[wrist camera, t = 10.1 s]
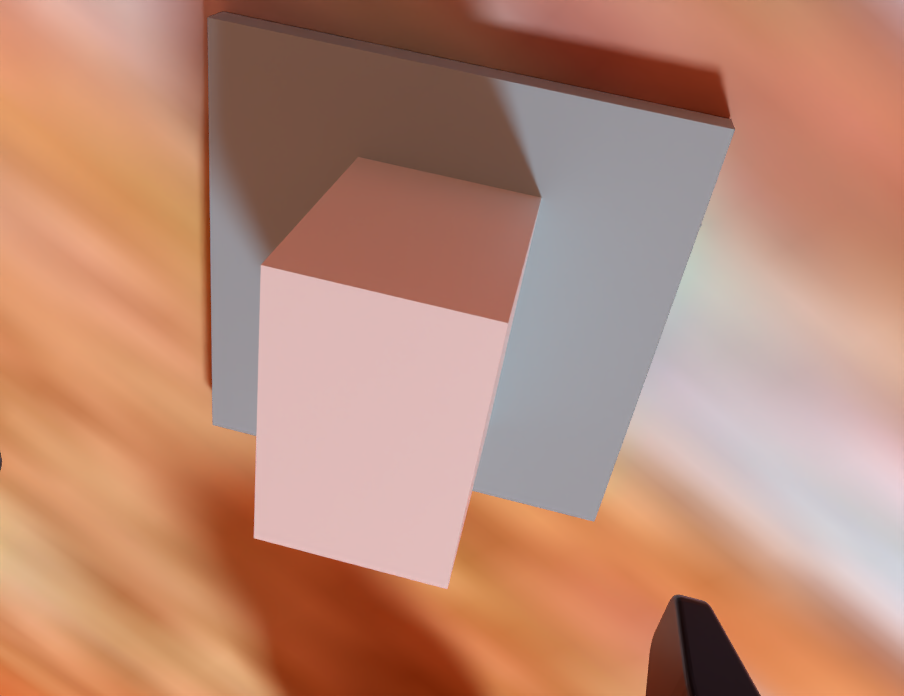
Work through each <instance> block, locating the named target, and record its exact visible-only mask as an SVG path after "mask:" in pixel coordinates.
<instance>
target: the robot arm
mask: <svg viewBox="0 0 904 696" xmlns="http://www.w3.org/2000/svg"><path fill="white" fill-rule="evenodd" d="M1 466H2V458H1V453H0V470H1ZM646 696H761V695H760V694H759V692H758V690H757V688H756V687H755V685H754V683H753V681H752V679H751V678H750V676H749V674H748V672H747V670H746V669H745V667H744V665H743V663H742V661H741V660H740V658H739V656H738V654H737V653H736V651H735V649H734V647H733V645H732V644H731V642H730V640H729V638H728V636H727V635H726V633H725V631H724V629H723V628H722V626H721V624H720V622H719V620H718V619H717V617H716V615H715V613H714V611H713V610H712V608H711V607H710V605H709V604H708V603H706V602H705V601H702V600H698V599H694V598H691V597H687V596H683V595H675V596H673V597H672V598H671V599H670V601H669V603H668V605H667V607H666V610H665V612H664V614H663V616H662V618H661V620H660V622H659V625H658V627H657V629H656V631H655V633H654V636H653V639H652V643H651V648H650V655H649V665H648V676H647V687H646Z"/></svg>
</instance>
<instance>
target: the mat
mask: <svg viewBox="0 0 904 696" xmlns="http://www.w3.org/2000/svg"><path fill="white" fill-rule="evenodd" d="M207 19H208V98H209V178H210V257H211V337H212V416H213V425H215V426H219V427H223V428H227V429H231V430H235V431H239V432H243V433H247V434H251V435H255V436H256V432H257V392H258V353H259V314H260V274H261V264H262V263H263V262H264V261H265V260H266V259H267V257H268V256H269V255H270V254H271V253H272V252H273V251H274V250H275V249H276V247H277V246H278V245H279V244H280V243H281V242H282V241H283V240H284V239H285V237H286V236H287V235H288V234H289V233H290V232H291V231H292V230H293V229H294V227H295V226H296V225H297V224H298V223H299V222H300V221H301V220H302V219H303V218H304V216H305V215H306V214H307V213H308V212H309V211H310V210H311V209H312V208H313V206H314V205H315V204H316V203H317V202H318V201H319V200H320V199H321V198H322V196H323V195H324V194H325V193H326V192H327V191H328V190H329V189H330V188H331V186H332V185H333V184H334V183H335V182H336V181H337V180H338V179H339V178H340V176H341V175H342V174H343V173H344V172H345V171H346V170H347V169H348V168H349V166H350V165H351V164H352V163H353V162H354V161H355V160H356V159H357V158H358V157H361V158H365V159H370V160H374V161H379V162H383V163H388V164H392V165H397V166H401V167H406V168H410V169H415V170H419V171H424V172H428V173H433V174H437V175H442V176H446V177H451V178H455V179H460V180H464V181H469V182H473V183H478V184H482V185H487V186H491V187H496V188H500V189H505V190H509V191H514V192H518V193H523V194H527V195H532V196H536V197H541V202H540V206H539V211H538V215H537V219H536V224H535V228H534V232H533V237H532V241H531V245H530V249H529V254H528V258H527V262H526V267H525V271H524V275H523V280H522V284H521V288H520V292H519V297H518V301H517V305H516V310H515V314H514V318H513V323H512V327H511V331H510V336H509V340H508V344H507V348H506V353H505V357H504V361H503V366H502V370H501V374H500V379H499V383H498V387H497V391H496V396H495V400H494V404H493V409H492V413H491V417H490V422H489V426H488V430H487V434H486V438H485V442H484V446H483V450H482V454H481V458H480V462H479V466H478V470H477V474H476V477H475V481H474V485H473V489H472V491H476V492H480V493H484V494H488V495H492V496H495V497H499V498H503V499H507V500H511V501H515V502H519V503H523V504H527V505H531V506H535V507H539V508H543V509H547V510H551V511H555V512H559V513H563V514H566V515H570V516H574V517H578V518H582V519H586V520H590V521H595V518H596V515H597V513H598V510H599V507H600V504H601V501H602V499H603V496H604V493H605V490H606V488H607V485H608V482H609V479H610V476H611V474H612V471H613V468H614V465H615V462H616V460H617V457H618V454H619V451H620V449H621V446H622V443H623V440H624V437H625V435H626V432H627V429H628V426H629V423H630V421H631V418H632V415H633V412H634V410H635V407H636V404H637V401H638V398H639V396H640V393H641V390H642V387H643V384H644V382H645V379H646V376H647V373H648V371H649V368H650V365H651V362H652V359H653V357H654V354H655V351H656V348H657V345H658V343H659V340H660V337H661V334H662V331H663V329H664V326H665V323H666V320H667V318H668V315H669V312H670V309H671V306H672V304H673V301H674V298H675V295H676V292H677V290H678V287H679V284H680V281H681V279H682V276H683V273H684V270H685V267H686V265H687V262H688V259H689V256H690V253H691V251H692V248H693V245H694V242H695V240H696V237H697V234H698V231H699V228H700V226H701V223H702V220H703V217H704V214H705V212H706V209H707V206H708V203H709V201H710V198H711V195H712V192H713V189H714V187H715V184H716V181H717V178H718V175H719V173H720V170H721V167H722V164H723V162H724V159H725V156H726V153H727V150H728V148H729V145H730V142H731V139H732V136H733V134H734V131H735V128H734V126H733V123H732V120H731V119H728V118H723V117H718V116H714V115H709V114H704V113H700V112H695V111H690V110H685V109H681V108H676V107H671V106H667V105H662V104H657V103H652V102H648V101H643V100H638V99H633V98H629V97H624V96H619V95H615V94H610V93H605V92H600V91H596V90H591V89H586V88H582V87H577V86H572V85H567V84H563V83H558V82H553V81H549V80H544V79H539V78H534V77H530V76H525V75H520V74H515V73H511V72H506V71H501V70H497V69H492V68H487V67H482V66H478V65H473V64H468V63H464V62H459V61H454V60H449V59H445V58H440V57H435V56H431V55H426V54H421V53H416V52H412V51H407V50H402V49H397V48H393V47H388V46H383V45H379V44H374V43H369V42H364V41H360V40H355V39H350V38H346V37H341V36H336V35H331V34H327V33H322V32H317V31H313V30H308V29H303V28H298V27H294V26H289V25H284V24H279V23H275V22H270V21H265V20H261V19H256V18H251V17H246V16H242V15H237V14H232V13H228V12H220V13H217V14H215V15H212V16H210V17H207Z"/></svg>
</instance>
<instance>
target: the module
mask: <svg viewBox="0 0 904 696" xmlns="http://www.w3.org/2000/svg"><path fill="white" fill-rule="evenodd" d="M540 202H541V197H536V196H532V195H527V194H523V193H518V192H514V191H509V190H505V189H500V188H496V187H491V186H487V185H482V184H478V183H473V182H469V181H464V180H460V179H455V178H451V177H446V176H442V175H437V174H433V173H428V172H424V171H419V170H415V169H410V168H406V167H401V166H397V165H392V164H388V163H383V162H379V161H374V160H370V159H365V158H361V157H358V158H357V159H356V160H355V161H354V162H353V163H352V164H351V165H350V166H349V168H348V169H347V170H346V171H345V172H344V173H343V174H342V175H341V176H340V178H339V179H338V180H337V181H336V182H335V183H334V184H333V185H332V186H331V188H330V189H329V190H328V191H327V192H326V193H325V194H324V195H323V196H322V198H321V199H320V200H319V201H318V202H317V203H316V204H315V205H314V206H313V208H312V209H311V210H310V211H309V212H308V213H307V214H306V215H305V216H304V218H303V219H302V220H301V221H300V222H299V223H298V224H297V225H296V226H295V227H294V229H293V230H292V231H291V232H290V233H289V234H288V235H287V236H286V237H285V239H284V240H283V241H282V242H281V243H280V244H279V245H278V246H277V247H276V249H275V250H274V251H273V252H272V253H271V254H270V255H269V256H268V257H267V259H266V260H265V261H264V262H263V263H262V264H261V274H260V314H259V353H258V392H257V432H256V471H255V511H254V538H255V539H259V540H263V541H266V542H270V543H274V544H278V545H282V546H285V547H289V548H293V549H297V550H301V551H304V552H308V553H312V554H316V555H320V556H323V557H327V558H331V559H335V560H339V561H342V562H346V563H350V564H354V565H358V566H361V567H365V568H369V569H373V570H377V571H380V572H384V573H388V574H392V575H396V576H399V577H403V578H407V579H411V580H415V581H418V582H422V583H426V584H430V585H434V586H438V587H441V588H445V589H448V585H449V581H450V577H451V573H452V569H453V565H454V561H455V557H456V553H457V549H458V545H459V541H460V537H461V533H462V529H463V525H464V521H465V517H466V513H467V509H468V505H469V501H470V497H471V493H472V489H473V485H474V481H475V477H476V474H477V470H478V466H479V462H480V458H481V454H482V450H483V446H484V442H485V438H486V434H487V430H488V426H489V422H490V417H491V413H492V409H493V404H494V400H495V396H496V391H497V387H498V383H499V379H500V374H501V370H502V366H503V361H504V357H505V353H506V348H507V344H508V340H509V336H510V331H511V327H512V323H513V318H514V314H515V310H516V305H517V301H518V297H519V292H520V288H521V284H522V280H523V275H524V271H525V267H526V262H527V258H528V254H529V249H530V245H531V241H532V237H533V232H534V228H535V224H536V219H537V215H538V211H539V206H540Z"/></svg>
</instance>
